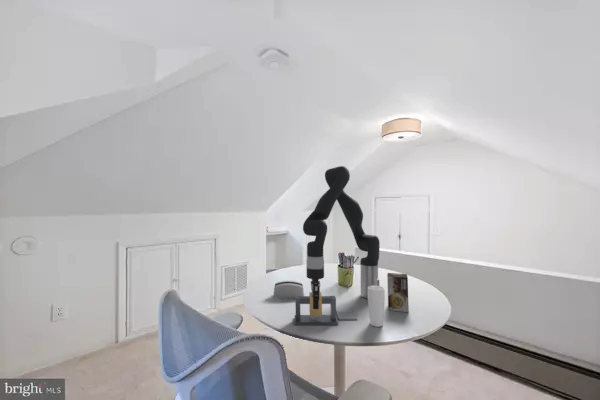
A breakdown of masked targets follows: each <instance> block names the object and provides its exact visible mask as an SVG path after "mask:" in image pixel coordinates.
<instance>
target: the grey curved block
mask: <svg viewBox="0 0 600 400" xmlns="http://www.w3.org/2000/svg"><path fill="white" fill-rule="evenodd" d="M296 296H305V292H304V285H303V283H302V282H301V281H295V280H283V281H281V280H280V281H278V282H276V283H275V284H274V287H273V298H274V299H275V298H277V299H278V298H279V299H280V298H283V299H284V298H286V299H287V298H290V299H291V298H293V299H294V298H295V299H296Z"/></svg>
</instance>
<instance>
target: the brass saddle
mask: <svg viewBox="0 0 600 400" xmlns="http://www.w3.org/2000/svg"><path fill="white" fill-rule="evenodd" d="M308 296H310V304H308V305H309V307H308V308H309V315H310V316H322V315H323V304H322V296H323V295H322V292H321V291H320V294H319V298H320V299H319V309H313V294H312V291H310V292H309V295H308ZM314 297H318V295H314Z"/></svg>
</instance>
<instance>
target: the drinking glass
mask: <svg viewBox="0 0 600 400" xmlns="http://www.w3.org/2000/svg"><path fill="white" fill-rule="evenodd" d="M385 297H386V295H385V287H382V285H381V286H380V285H379V286H369V287H368V299H367V305H368V314H369V324H370V325H371V326H373V327H376V328H379V327H382V326H383V325H384V311H385V300H386V299H385Z"/></svg>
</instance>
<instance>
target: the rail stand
mask: <svg viewBox="0 0 600 400" xmlns="http://www.w3.org/2000/svg"><path fill="white" fill-rule="evenodd" d="M309 304H310V296H309V295H308V296H307V295H306V296H305V295H304V296H296V298H295V315H294V320H293V321H294V323H293V325H294V326H338V325H339V320H338V317H337V313H336V311H337V298H336V295H322V305H330V307H329V308H330V309H329V311H330V314H322V316H310V314H301V305H309Z"/></svg>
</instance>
